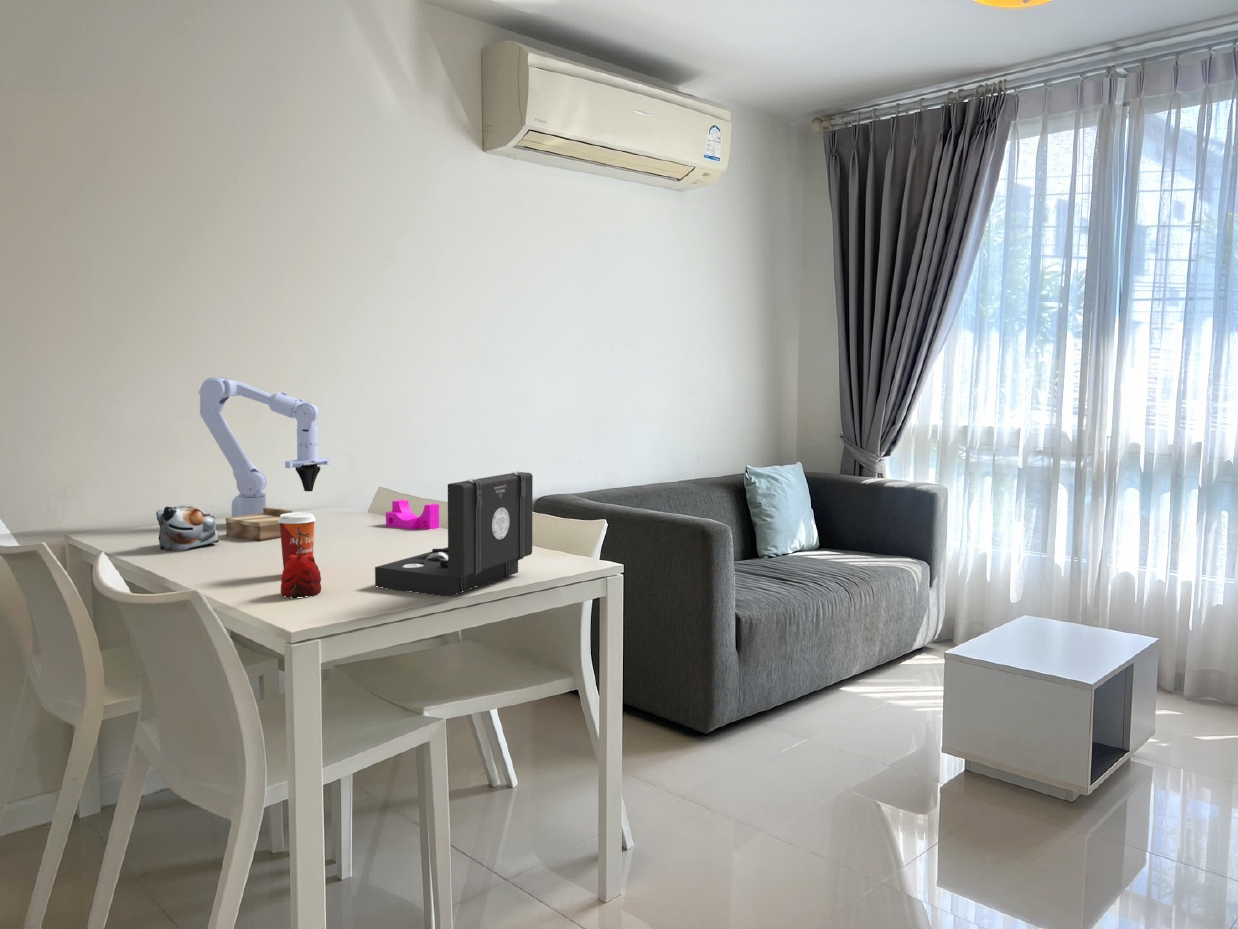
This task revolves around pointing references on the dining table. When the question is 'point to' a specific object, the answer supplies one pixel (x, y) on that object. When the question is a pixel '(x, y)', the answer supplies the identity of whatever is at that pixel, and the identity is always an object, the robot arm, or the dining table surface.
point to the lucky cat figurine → (185, 528)
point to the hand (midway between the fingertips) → (308, 491)
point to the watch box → (472, 539)
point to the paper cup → (290, 536)
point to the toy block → (412, 516)
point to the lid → (260, 518)
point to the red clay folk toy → (300, 574)
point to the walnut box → (253, 531)
